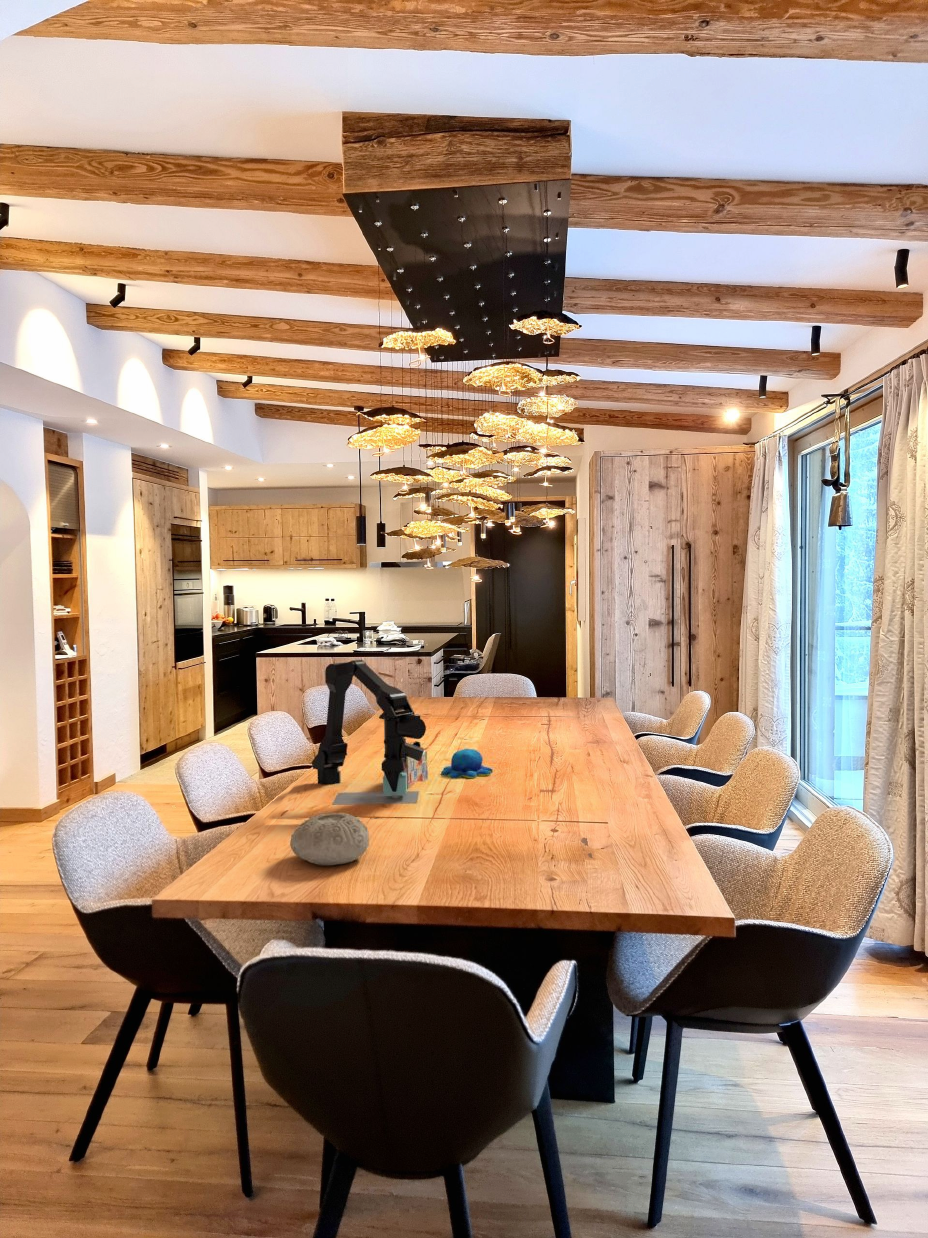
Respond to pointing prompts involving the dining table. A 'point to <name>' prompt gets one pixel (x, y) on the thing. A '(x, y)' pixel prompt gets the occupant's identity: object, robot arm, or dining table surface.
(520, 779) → the dining table surface
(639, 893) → the dining table surface
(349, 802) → the grey piece
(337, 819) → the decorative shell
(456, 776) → the plush toy
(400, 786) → the teal hollow block
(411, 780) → the stack of blocks
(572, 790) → the dining table surface
